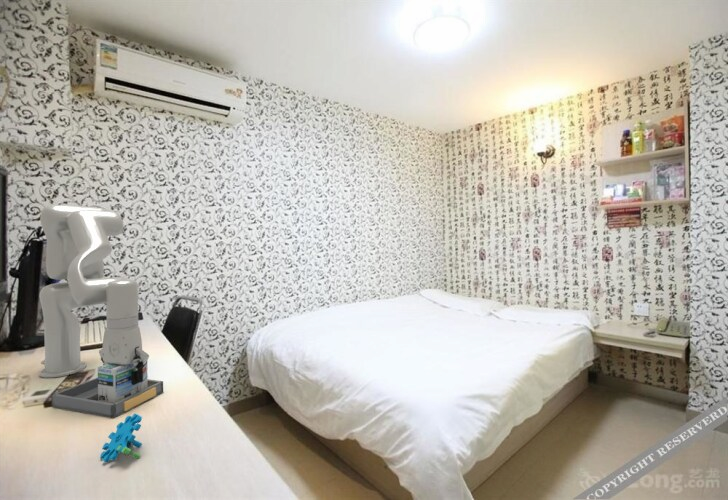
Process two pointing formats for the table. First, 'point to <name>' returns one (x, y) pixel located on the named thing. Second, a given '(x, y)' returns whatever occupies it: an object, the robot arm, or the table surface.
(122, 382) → the light bulb box
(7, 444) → the table surface
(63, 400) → the bay tray
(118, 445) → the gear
